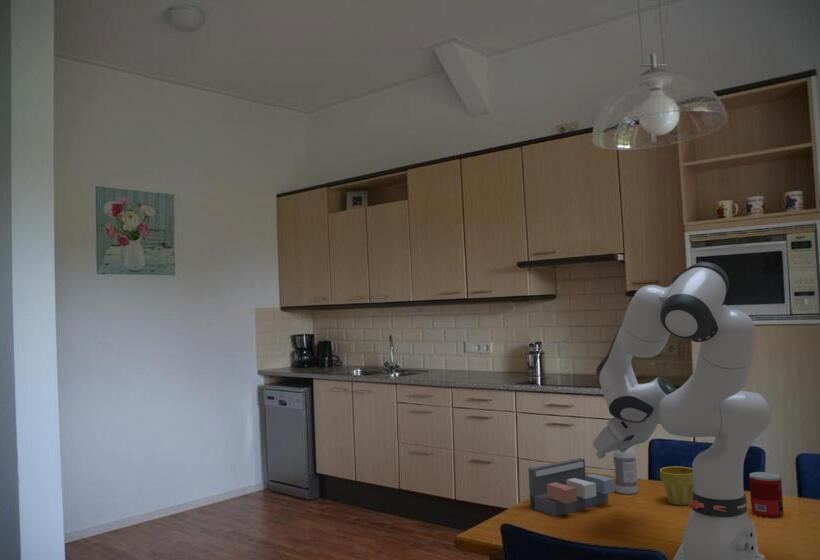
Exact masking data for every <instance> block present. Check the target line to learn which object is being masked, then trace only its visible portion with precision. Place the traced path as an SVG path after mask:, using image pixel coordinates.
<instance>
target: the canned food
mask: <svg viewBox="0 0 820 560" xmlns="http://www.w3.org/2000/svg"><path fill="white" fill-rule="evenodd" d="M748 478H749V480H748V481H749V491H750V492H749V493H750V503H751V504H750V505H751V511H752V514H753V515H755V516H757V517H760V516H761V518H765V517H768V518H767V519H777V518H776V517H779V518H781V516H782V517H783V515H784V501H783V487H782V477H781V475H780V474H778V473H774V472H769V471H768V472H766V471H755V472H753V471H752V472H750V473H749V476H748Z"/></svg>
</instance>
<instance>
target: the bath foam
mask: <svg viewBox="0 0 820 560" xmlns="http://www.w3.org/2000/svg"><path fill="white" fill-rule="evenodd" d="M613 468H614V469H613V470H614V481H615V492H616V493H619V494H621V495H634V494H637V493H638V492H639V490H638V489H639V486H638V473H637V472H638V471H637V457H636V451H635V449H634V448H633V446H632V447H630V448H628V449H627V450H626V451H625V452H622V453H621V452H620V450H619V449H618V450H614V451H613Z"/></svg>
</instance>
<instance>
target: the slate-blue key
mask: <svg viewBox="0 0 820 560" xmlns="http://www.w3.org/2000/svg"><path fill="white" fill-rule="evenodd" d="M585 481H588V482H593V483H596V492H600V493H603V494H607V493H608V494H610V493H614V492H616V487H615V478H613V477H607V476H604V475H599V474H595V473H590V474H587V475H585Z"/></svg>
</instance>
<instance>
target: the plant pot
mask: <svg viewBox="0 0 820 560" xmlns="http://www.w3.org/2000/svg"><path fill="white" fill-rule="evenodd" d="M659 477H660V481H661V482H662V484H663V487H664V490H665V493H666V496H667V500H668V503H670V504H673V505H676V506H687V505H688V506H689V500H690V499H691V500H692V494H693V491H694V483H693V467H692V468H691V467H687V466H686V467H685V466H678V465H675V466H674V465H673V466H666V467H662V468H660V469H659Z"/></svg>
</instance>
